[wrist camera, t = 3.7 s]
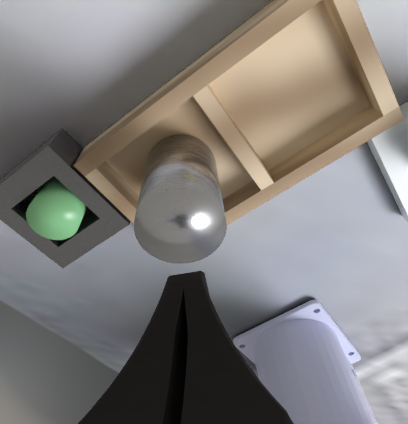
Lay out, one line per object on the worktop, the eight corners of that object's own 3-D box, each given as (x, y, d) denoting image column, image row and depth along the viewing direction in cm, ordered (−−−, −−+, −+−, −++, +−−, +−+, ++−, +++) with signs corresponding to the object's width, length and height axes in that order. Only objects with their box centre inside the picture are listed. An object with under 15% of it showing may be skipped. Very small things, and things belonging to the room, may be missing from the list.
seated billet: (229, 173, 21) (243, 235, 16) (175, 208, 22) (172, 276, 17) (188, 119, 19) (189, 169, 14) (131, 161, 20) (114, 220, 15)
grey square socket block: (134, 201, 23) (129, 224, 21) (73, 243, 24) (62, 268, 22) (62, 128, 20) (48, 145, 18) (-2, 180, 22) (-22, 202, 19)
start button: (100, 196, 22) (90, 223, 20) (69, 218, 23) (55, 247, 21) (66, 163, 21) (50, 188, 18) (34, 188, 22) (14, 215, 19)
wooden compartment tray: (381, 104, 20) (404, 119, 18) (171, 235, 24) (169, 259, 22) (320, -37, 16) (340, -40, 14) (84, 146, 21) (73, 165, 18)
